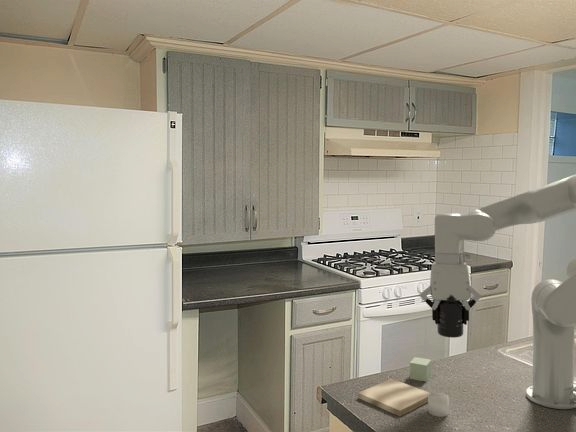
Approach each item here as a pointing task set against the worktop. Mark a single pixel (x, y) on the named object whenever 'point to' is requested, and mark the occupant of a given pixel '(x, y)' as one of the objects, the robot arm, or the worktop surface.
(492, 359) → the worktop surface
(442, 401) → the white rounded lump
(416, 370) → the sage block
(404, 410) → the birch board
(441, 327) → the supplement bottle
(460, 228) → the robot arm
